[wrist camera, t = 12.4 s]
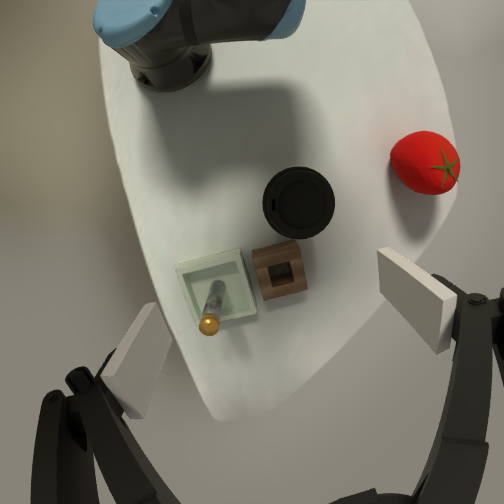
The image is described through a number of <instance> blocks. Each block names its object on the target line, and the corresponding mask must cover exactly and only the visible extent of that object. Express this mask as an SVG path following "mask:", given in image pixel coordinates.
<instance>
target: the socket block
mask: <svg viewBox="0 0 504 504" xmlns="http://www.w3.org/2000/svg"><path fill="white" fill-rule="evenodd" d="M252 257H253V262H254V266H255V269H256V273H257V277H258V280H259V284H260V288H261V291H262V295H263V298H264V300H268V299H272V298H276V297H280V296H284V295H288V294H292V293H296V292H300V291H303V290H307V289H308V287H307V282H306V277H305V273H304V268H303V263H302V258H301V254H300V249H299V246H298V245H297V243H296V242H295V240H291V241H287V242H283V243H279V244H275V245H272V246H268V247H264V248H260V249H256V250H252ZM284 262H289V267H290V271H291V272H289V273H285V274H281V275H277V276H273V277H270V274H269V270H268V267H269V266H273V265H277V264H281V263H284Z"/></svg>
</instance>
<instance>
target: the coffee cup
mask: <svg viewBox="0 0 504 504" xmlns="http://www.w3.org/2000/svg"><path fill="white" fill-rule="evenodd" d="M262 204H263V211H264V215H265V218H266V220H267V221H268V223H269V225H270V226H271V227H272V228H273V229H274V230H275V231H276V232H278V233H279V234H281V235H283V236H285V237H288V238H291V239H307V238H310V237H313V236H315V235H317V234H319V233H320V232H321V231H322V230H324V229H325V227H326V226H327V225H328V224H329V222H330V220H331V219H332V216H333V213H334V208H335V197H334V193H333V190H332V188H331V186H330V184H329V183H328V181H327V180H326V178H324V177H323V176H322V175H321V174H320V173H318V172H317V171H315V170H313V169H310V168H307V167H291V168H287V169H285V170H283V171H281V172H279V173H278V174H276V175H275V176H274V177H273V178H272V179H271V180H270V182H269V183H268V185H267V187H266V188H265V191H264V195H263V202H262Z"/></svg>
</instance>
